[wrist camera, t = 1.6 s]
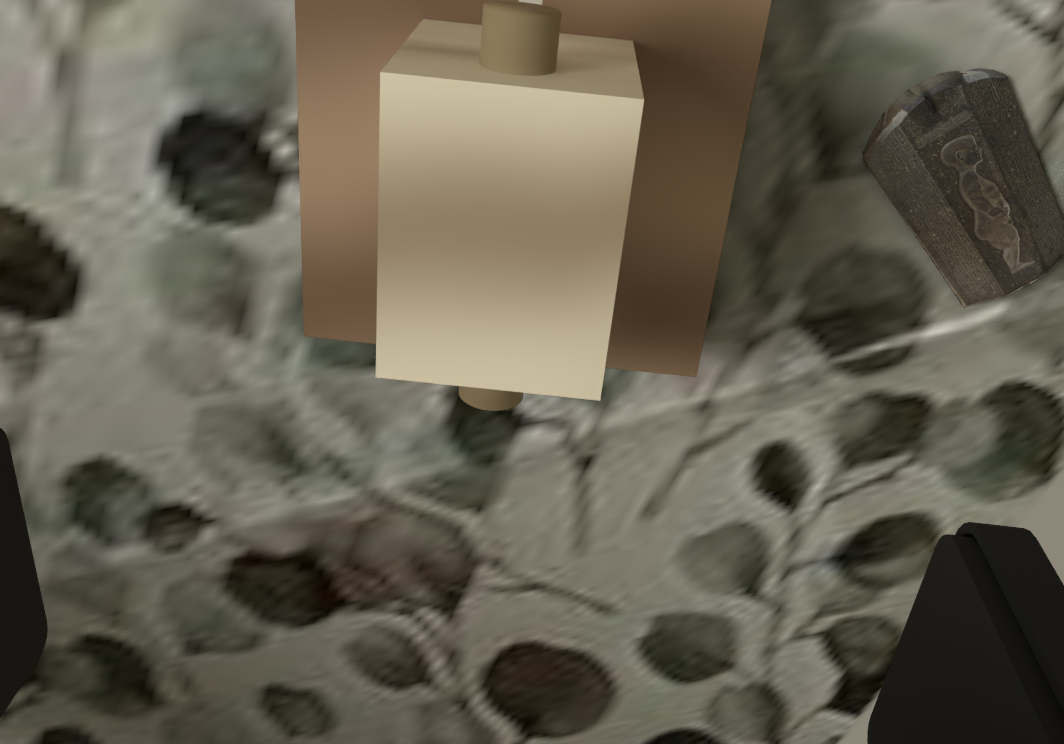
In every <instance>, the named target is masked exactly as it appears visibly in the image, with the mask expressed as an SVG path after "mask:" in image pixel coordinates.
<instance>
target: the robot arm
mask: <svg viewBox="0 0 1064 744" xmlns="http://www.w3.org/2000/svg"><path fill="white" fill-rule="evenodd" d="M46 638H47V619H46V615H45V610H44V605H43V601H42V596H41V591H40V587H39V582H38V577H37V573H36V568H35V563H34V559H33V554H32V549H31V545H30V540H29V535H28V531H27V526H26V521H25V516H24V512H23V507H22V502H21V498H20V493H19V488H18V484H17V479H16V474H15V470H14V465H13V460H12V456H11V451H10V446H9V442H8V438H7V436H6V433H5V432H4V431H3V430H2V429H1V428H0V717H1V716H2V714H3V713H4V711H5V710H6V708H7V707H8V705H9V704H10V702H11V701H12V699H13V698H14V696H15V695H16V693H17V692H18V690H19V689H20V687H21V686H22V684H23V683H24V681H25V680H26V678H27V677H28V675H29V674H30V672H31V671H32V669H33V668H34V666H35V665H36V663H37V662H38V660H39V658H40V656H41V654H42V652H43V649H44V646H45V642H46ZM868 744H1064V585H1063V583H1062V582H1061V580H1060V578H1059V576H1058V575H1057V573H1056V571H1055V570H1054V568H1053V566H1052V565H1051V563H1050V561H1049V560H1048V558H1047V556H1046V554H1045V552H1044V551H1043V549H1042V547H1041V546H1040V544H1039V542H1038V540H1037V539H1036V537H1035V536H1034V535H1033V534H1032V533H1031V532H1030V531H1029V530H1027V529H1024V528H1017V527H1008V526H1000V525H991V524H982V523H973V522H968V523H964V524H963V525H962V526H961V527H960V528H959V529H958V531H957V532H956V534H955V535H948V534H947V535H943V536H942V537H941V538H940V539H939V541H938V543H937V545H936V547H935V549H934V552H933V555H932V557H931V560H930V562H929V565H928V568H927V570H926V573H925V576H924V578H923V581H922V583H921V586H920V589H919V591H918V594H917V596H916V599H915V602H914V604H913V607H912V610H911V612H910V615H909V617H908V620H907V623H906V625H905V628H904V630H903V633H902V636H901V638H900V641H899V644H898V646H897V649H896V651H895V654H894V657H893V659H892V662H891V665H890V667H889V670H888V672H887V675H886V678H885V680H884V683H883V685H882V688H881V691H880V693H879V696H878V699H877V701H876V704H875V706H874V709H873V712H872V714H871V717H870V721H869V726H868Z"/></svg>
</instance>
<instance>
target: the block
mask: <svg viewBox="0 0 1064 744" xmlns="http://www.w3.org/2000/svg"><path fill="white" fill-rule="evenodd" d="M883 114H884V113H883ZM863 154H864V157H863V161H864V162H865V164H866V165H867V167H868V168H869V169H870V171H871V172H872V173H873V175H874V176H875V178H876V179H877V181H878V182H879V184H880V185H881V187H882V188H883V190H884V191H885V193H886V194H887V196H888V197H889V198H890V200H891V202H892V203H893V204H894V206H895V207H896V209H897V210H898V212H899V213H900V214H901V216H902V217H903V219H904V220H905V222H906V223H907V224H908V226H909V227H910V229H911V230H912V232H913V233H914V235H915V236H916V238H917V239H918V240H919V242H920V243H921V245H922V246H923V248H924V249H925V251H926V252H927V253H928V255H929V256H930V258H931V259H932V261H933V262H934V264H935V265H936V267H937V268H938V270H939V271H940V273H941V274H942V276H943V277H944V279H945V280H946V282H947V283H948V284H949V286H950V287H951V289H952V290H953V292H954V293H955V295H956V296H957V298H958V300H959V301H960V303H961V305H962V306H963V307H964V308H965V306H970V305H974V304H977V303H981V302H985V301H988V300H993V299H997V298H1000V297H1004V296H1007V295H1010V294H1011V293H1013V292H1015V291H1016V290H1019V289H1020V288H1022V287H1024V286H1025V285H1027V284H1029V283H1032V282H1034V281H1035V280H1037V279H1038V278H1040V277H1042V276H1043V275H1045V274H1046V273H1047V272H1048V271H1049V269H1050V268H1051V267H1052V266H1054V264H1055V263H1056V262H1057V261H1058V260H1059V259H1060V258H1061V257H1062V256H1063V255H1064V221H1063V219H1062V216H1061V214H1060V211H1059V209H1058V206H1057V204H1056V201H1055V199H1054V196H1053V194H1052V191H1051V188H1050V186H1049V184H1048V181H1047V179H1046V176H1045V174H1044V171H1043V168H1042V166H1041V163H1040V161H1039V159H1038V156H1037V154H1036V151H1035V148H1034V146H1033V144H1032V141H1031V139H1030V136H1029V134H1028V131H1027V128H1026V125H1025V123H1024V120H1023V118H1022V115H1021V113H1020V110H1019V108H1018V105H1017V103H1016V100H1015V97H1014V95H1013V93H1012V90H1011V88H1010V85H1009V82H1008V80H1007V77H1006V76H1005V75H1004V74H1003V73H1002V74H1001V73H999V72H996V71H994V70H989V69H972V70H967V71H952V72H946V73H941V74H938V75H936V76H934V77H931V78H929V79H927V80H925V81H923V82H921V83H919V84H918V85H916V86H915V87H913V88H911V89H909V90H907V91H906V92H905V93H904V94H903V95H902V96H901V97H899V98H898V99H897V100H896V101H895V102H894V103H893V104H892V105H891V106H890V107H889V109H888V110H887V112H886V114H885V115H884V117H883V115H882V116H881V119H880V121H879V122H878V123H877V125H876V127H875V128H874V130H873V132H872V134H871V136H870V138H869V141H868V143H867V146H866V149H865V152H863Z"/></svg>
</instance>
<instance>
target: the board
mask: <svg viewBox="0 0 1064 744" xmlns="http://www.w3.org/2000/svg"><path fill="white" fill-rule="evenodd" d="M496 1H514V2H526V3H534V4H540V5H545V6H549V7H553V8H556V9H558V10H560V11H561V12H562V14H561V24H560V33H563V34H573V35H583V36H592V37H602V38H611V39H621V40H630V41H633V44H634V49H635V54H636V60H637V65H638V70H639V75H640V80H641V85H642V91H643V96H644V105H643V111H642V118H641V125H640V132H639V139H638V146H637V152H636V159H635V166H634V173H633V180H632V186H631V193H630V200H629V207H628V214H627V221H626V227H625V234H624V241H623V248H622V255H621V262H620V268H619V275H618V282H617V289H616V296H615V303H614V309H613V316H612V323H611V330H610V337H609V344H608V350H607V357H606V364H605V368H614V369H624V370H633V371H643V372H653V373H662V374H672V375H681V376H691V377H696V376H697V371H698V366H699V361H700V356H701V351H702V346H703V341H704V336H705V331H706V326H707V321H708V316H709V311H710V306H711V301H712V296H713V291H714V286H715V281H716V276H717V271H718V266H719V261H720V256H721V251H722V246H723V241H724V236H725V231H726V226H727V221H728V216H729V211H730V206H731V201H732V196H733V191H734V186H735V181H736V176H737V171H738V166H739V161H740V156H741V151H742V146H743V141H744V136H745V131H746V126H747V121H748V116H749V111H750V106H751V101H752V96H753V91H754V86H755V81H756V76H757V71H758V66H759V61H760V56H761V51H762V46H763V41H764V36H765V31H766V26H767V21H768V16H769V11H770V6H771V1H772V0H295V17H296V55H297V93H298V130H299V168H300V205H301V243H302V281H303V318H304V336H307V337H316V338H326V339H335V340H345V341H355V342H364V343H374V344H376V327H377V257H378V188H379V118H380V72H381V70H382V69H383V68H384V67H385V65H386V64H387V63H388V62H389V60H390V59H391V58H392V57H393V56H394V54H395V53H396V52H397V51H398V49H399V48H400V47H401V46H402V44H403V43H404V42H405V41H406V40H407V38H408V37H409V36H410V35H411V33H412V32H413V31H414V30H415V28H416V27H417V26H418V25H419V24H420V22H421V21H422V20H423V19H429V20H439V21H448V22H458V23H468V24H477V25H482V16H483V5H484V4H485V3H488V2H496Z"/></svg>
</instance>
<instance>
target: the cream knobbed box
mask: <svg viewBox="0 0 1064 744" xmlns="http://www.w3.org/2000/svg"><path fill="white" fill-rule="evenodd" d="M561 14H562V12H561V11H560V10H558V9H556V8H553V7H549V6H545V5H540V4H534V3H526V2H514V1H496V2H488V3H485V4H484V5H483V16H482V25H477V24H468V23H458V22H448V21H439V20H429V19H423V20H422V21H421V22H420V24H419V25H418V26H417V27H416V28H415V30H414V31H413V32H412V33H411V35H410V36H409V37H408V38H407V40H406V41H405V42H404V43H403V44H402V46H401V47H400V48H399V49H398V51H397V52H396V53H395V54H394V56H393V57H392V58H391V59H390V60H389V62H388V63H387V64H386V65H385V67H384V68H383V69H382V70H381V72H380V118H379V188H378V257H377V327H376V377H378V378H388V379H397V380H407V381H416V382H426V383H436V384H445V385H455V386H459V395H460V397H461V399H462V400H463V401H464V402H465V403H467V404H469V405H471V406H473V407H475V408H479V409H483V410H491V411H498V410H506V409H510V408H512V407H515V406H516V405H518V404H519V403H520V402H521V401H522V399H523V393H532V394H541V395H551V396H561V397H570V398H580V399H589V400H599V401H600V398H601V391H602V385H603V378H604V371H605V364H606V357H607V350H608V344H609V337H610V330H611V323H612V316H613V309H614V303H615V296H616V289H617V282H618V275H619V268H620V262H621V255H622V248H623V241H624V234H625V227H626V221H627V214H628V207H629V200H630V193H631V186H632V180H633V173H634V166H635V159H636V152H637V146H638V139H639V132H640V125H641V118H642V111H643V105H644V96H643V91H642V85H641V80H640V75H639V70H638V65H637V60H636V54H635V49H634V44H633V41H630V40H621V39H611V38H602V37H592V36H583V35H573V34H563V33H560V24H561Z"/></svg>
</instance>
